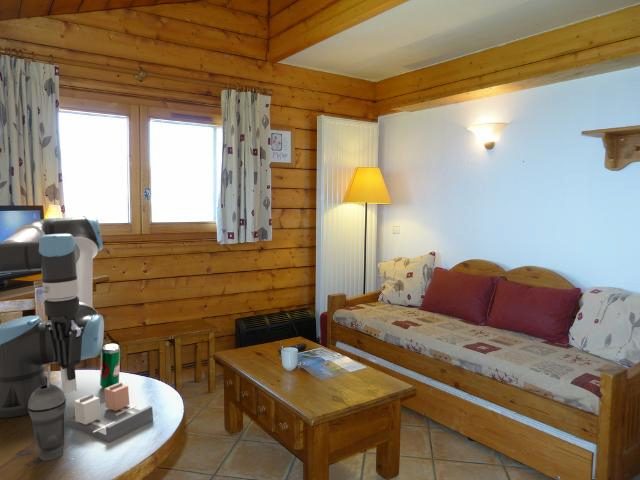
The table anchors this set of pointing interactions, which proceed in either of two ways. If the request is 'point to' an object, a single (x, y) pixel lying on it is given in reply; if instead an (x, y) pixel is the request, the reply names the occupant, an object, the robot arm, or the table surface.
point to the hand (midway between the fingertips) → (69, 391)
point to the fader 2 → (116, 396)
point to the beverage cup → (48, 419)
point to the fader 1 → (87, 409)
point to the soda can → (109, 365)
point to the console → (114, 422)
